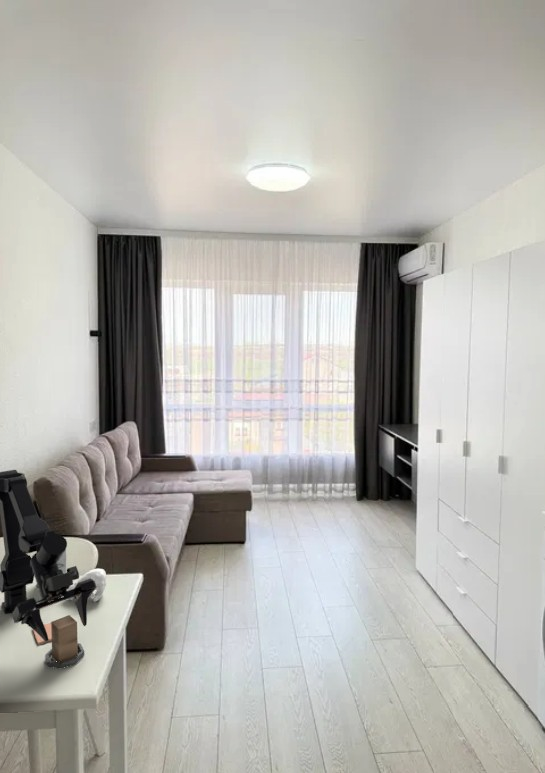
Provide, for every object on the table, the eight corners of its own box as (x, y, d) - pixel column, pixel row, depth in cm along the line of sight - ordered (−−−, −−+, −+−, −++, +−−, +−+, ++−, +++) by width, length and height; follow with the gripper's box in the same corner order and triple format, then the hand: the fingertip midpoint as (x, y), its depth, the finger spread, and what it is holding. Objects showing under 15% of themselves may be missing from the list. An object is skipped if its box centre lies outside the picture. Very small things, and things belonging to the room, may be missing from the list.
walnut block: (52, 657, 121) (51, 621, 120) (70, 649, 124) (69, 615, 123) (59, 665, 118) (58, 629, 117) (77, 657, 121) (77, 622, 120)
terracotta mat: (32, 630, 132) (32, 627, 132) (64, 620, 137) (64, 618, 137) (38, 645, 126) (38, 642, 126) (71, 634, 130) (71, 632, 130)
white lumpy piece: (103, 573, 147) (60, 580, 144) (107, 600, 148) (64, 608, 145) (106, 563, 153) (64, 570, 151) (109, 590, 154) (68, 597, 151)
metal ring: (43, 654, 122) (43, 649, 122) (78, 643, 127) (78, 638, 127) (50, 672, 115) (49, 667, 115) (87, 660, 120) (87, 655, 120)
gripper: (15, 570, 115) (34, 635, 108) (92, 547, 128) (114, 604, 122) (4, 591, 121) (22, 654, 114) (79, 567, 135) (99, 623, 128)
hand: (66, 632), depth 119 cm, fingers open, 9 cm apart
